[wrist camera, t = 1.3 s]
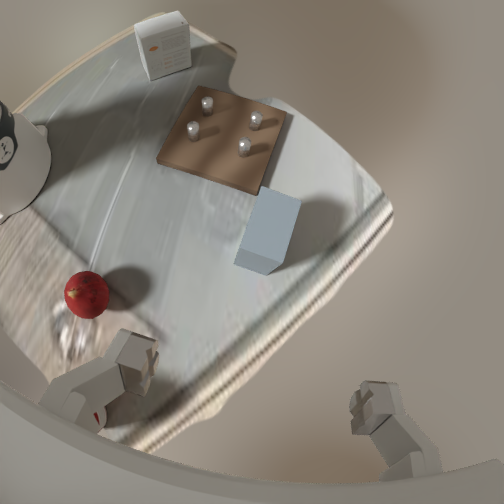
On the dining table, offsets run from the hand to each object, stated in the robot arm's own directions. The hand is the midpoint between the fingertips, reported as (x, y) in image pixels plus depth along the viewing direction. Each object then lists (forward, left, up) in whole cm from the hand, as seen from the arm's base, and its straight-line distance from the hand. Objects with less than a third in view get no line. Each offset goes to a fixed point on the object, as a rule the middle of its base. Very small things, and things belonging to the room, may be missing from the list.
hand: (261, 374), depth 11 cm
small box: (-26, +38, -27) cm, 53 cm away
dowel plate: (-10, +26, -27) cm, 39 cm away
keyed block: (0, +12, -27) cm, 30 cm away
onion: (-18, -2, -27) cm, 33 cm away
